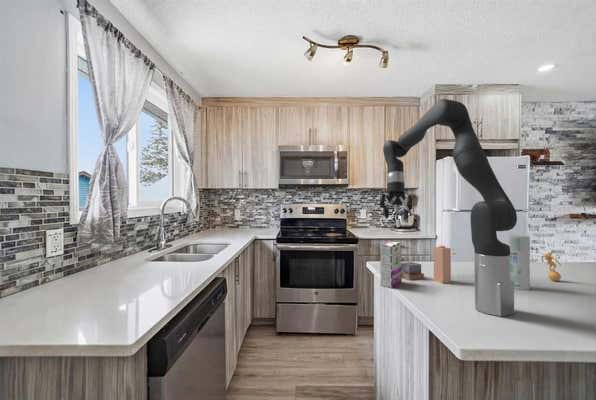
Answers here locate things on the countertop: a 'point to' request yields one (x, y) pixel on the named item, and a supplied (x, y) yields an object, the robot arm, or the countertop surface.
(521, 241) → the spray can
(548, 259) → the figurine
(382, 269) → the candy bar box
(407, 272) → the tower stand
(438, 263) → the terracotta brick
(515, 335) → the countertop surface
